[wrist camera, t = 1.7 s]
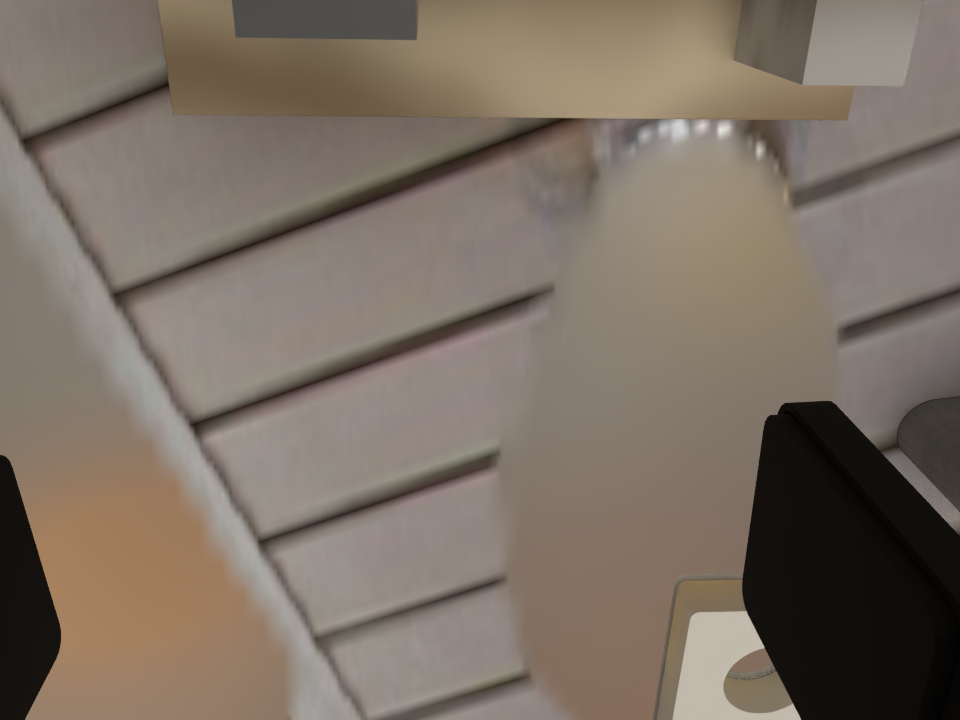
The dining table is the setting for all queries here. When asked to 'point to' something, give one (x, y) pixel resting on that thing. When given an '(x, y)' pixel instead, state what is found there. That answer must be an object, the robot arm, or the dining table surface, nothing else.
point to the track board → (553, 60)
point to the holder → (715, 657)
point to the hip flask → (935, 444)
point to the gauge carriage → (326, 19)
